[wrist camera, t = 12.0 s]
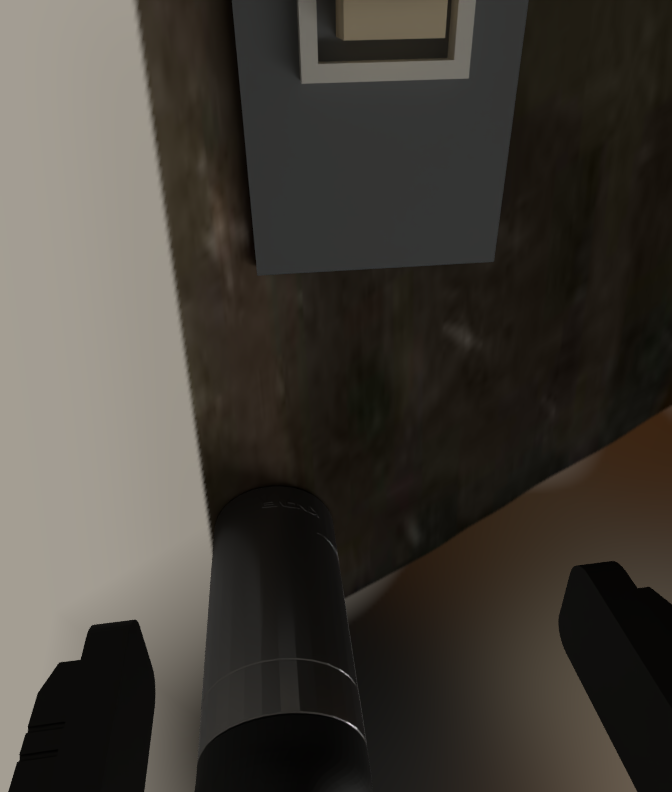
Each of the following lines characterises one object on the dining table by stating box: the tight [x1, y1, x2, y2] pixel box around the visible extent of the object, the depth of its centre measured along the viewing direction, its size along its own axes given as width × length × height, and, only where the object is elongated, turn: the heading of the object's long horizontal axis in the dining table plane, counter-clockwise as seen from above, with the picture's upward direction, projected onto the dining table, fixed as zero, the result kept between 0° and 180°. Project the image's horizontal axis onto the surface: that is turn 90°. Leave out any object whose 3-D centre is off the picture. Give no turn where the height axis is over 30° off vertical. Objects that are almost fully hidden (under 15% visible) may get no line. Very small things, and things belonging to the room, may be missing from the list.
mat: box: [232, 0, 528, 275], centre depth 30 cm, size 22×14×1 cm, turn 1°
